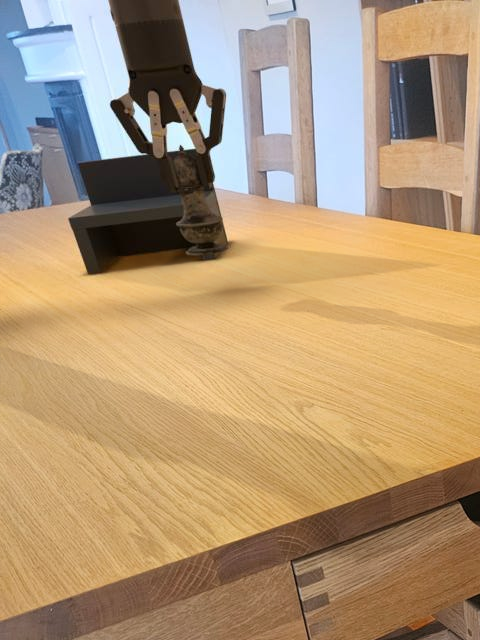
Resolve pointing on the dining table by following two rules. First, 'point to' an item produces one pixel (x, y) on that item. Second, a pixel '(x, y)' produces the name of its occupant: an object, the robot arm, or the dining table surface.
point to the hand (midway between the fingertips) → (191, 188)
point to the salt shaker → (196, 208)
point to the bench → (131, 211)
